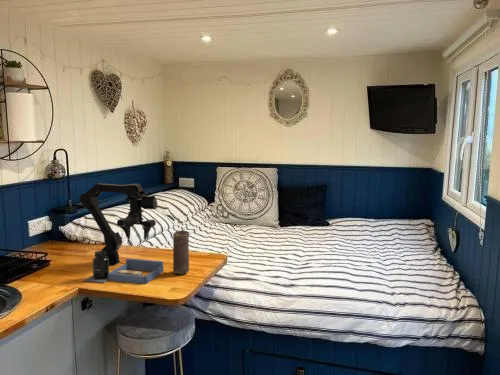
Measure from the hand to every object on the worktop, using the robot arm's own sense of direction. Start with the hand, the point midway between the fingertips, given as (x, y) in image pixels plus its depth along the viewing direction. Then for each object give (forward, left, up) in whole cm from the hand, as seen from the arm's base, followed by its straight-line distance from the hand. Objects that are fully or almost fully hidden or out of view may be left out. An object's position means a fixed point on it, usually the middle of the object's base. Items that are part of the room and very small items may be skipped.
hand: (136, 239), depth 192 cm
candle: (+27, -7, -13) cm, 31 cm away
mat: (-6, -22, -13) cm, 26 cm away
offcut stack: (+7, -20, -13) cm, 25 cm away
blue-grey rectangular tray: (+8, -14, -13) cm, 21 cm away
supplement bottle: (-6, -22, -13) cm, 26 cm away
